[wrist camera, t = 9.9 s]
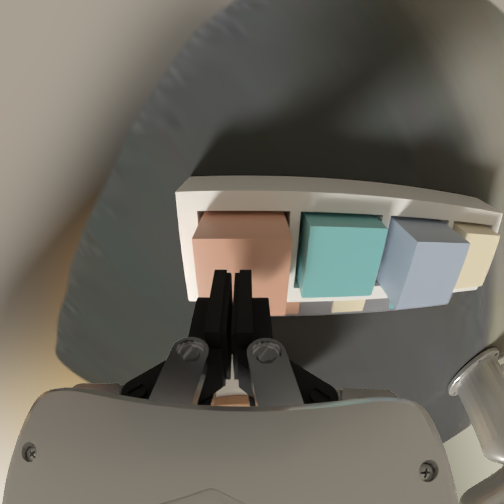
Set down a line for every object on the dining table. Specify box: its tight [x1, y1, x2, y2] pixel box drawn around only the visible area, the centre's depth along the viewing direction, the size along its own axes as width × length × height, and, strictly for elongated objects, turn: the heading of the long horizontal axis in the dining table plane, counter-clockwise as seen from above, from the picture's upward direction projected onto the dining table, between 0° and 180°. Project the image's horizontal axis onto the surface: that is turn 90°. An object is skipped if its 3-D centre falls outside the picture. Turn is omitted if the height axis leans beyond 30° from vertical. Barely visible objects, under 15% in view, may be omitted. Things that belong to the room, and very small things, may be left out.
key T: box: [295, 212, 388, 298], centre depth 18 cm, size 5×5×5 cm
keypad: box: [175, 176, 503, 316], centre depth 19 cm, size 26×12×4 cm, turn 90°
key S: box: [376, 216, 470, 310], centre depth 16 cm, size 5×5×5 cm
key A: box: [192, 211, 292, 316], centre depth 16 cm, size 5×5×5 cm
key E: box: [452, 221, 500, 289], centre depth 18 cm, size 5×5×5 cm
